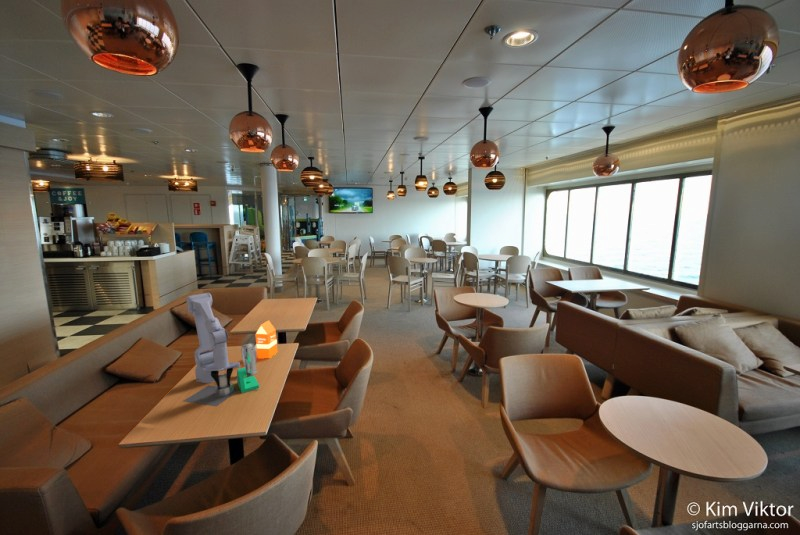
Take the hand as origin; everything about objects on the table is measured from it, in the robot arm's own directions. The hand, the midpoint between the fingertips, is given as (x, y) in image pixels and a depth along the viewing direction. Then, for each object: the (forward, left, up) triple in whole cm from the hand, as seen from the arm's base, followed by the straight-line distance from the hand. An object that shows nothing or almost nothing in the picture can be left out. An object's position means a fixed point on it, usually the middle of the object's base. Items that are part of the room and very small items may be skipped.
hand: (223, 384), depth 150 cm
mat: (-4, -3, -5) cm, 7 cm away
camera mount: (+6, +8, -5) cm, 11 cm away
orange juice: (-9, +43, -5) cm, 44 cm away
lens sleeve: (0, 0, -5) cm, 5 cm away
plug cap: (0, 0, -1) cm, 1 cm away
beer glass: (-3, +21, -5) cm, 22 cm away
